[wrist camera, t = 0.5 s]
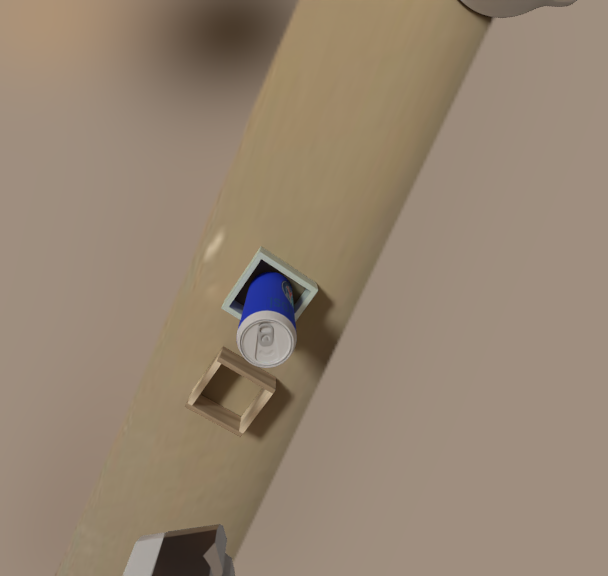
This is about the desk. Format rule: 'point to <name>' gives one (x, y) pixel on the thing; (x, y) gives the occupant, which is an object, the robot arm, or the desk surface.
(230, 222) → the desk surface
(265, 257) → the bin sage
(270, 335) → the beverage can
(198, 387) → the bin oak
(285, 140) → the desk surface
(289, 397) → the desk surface
